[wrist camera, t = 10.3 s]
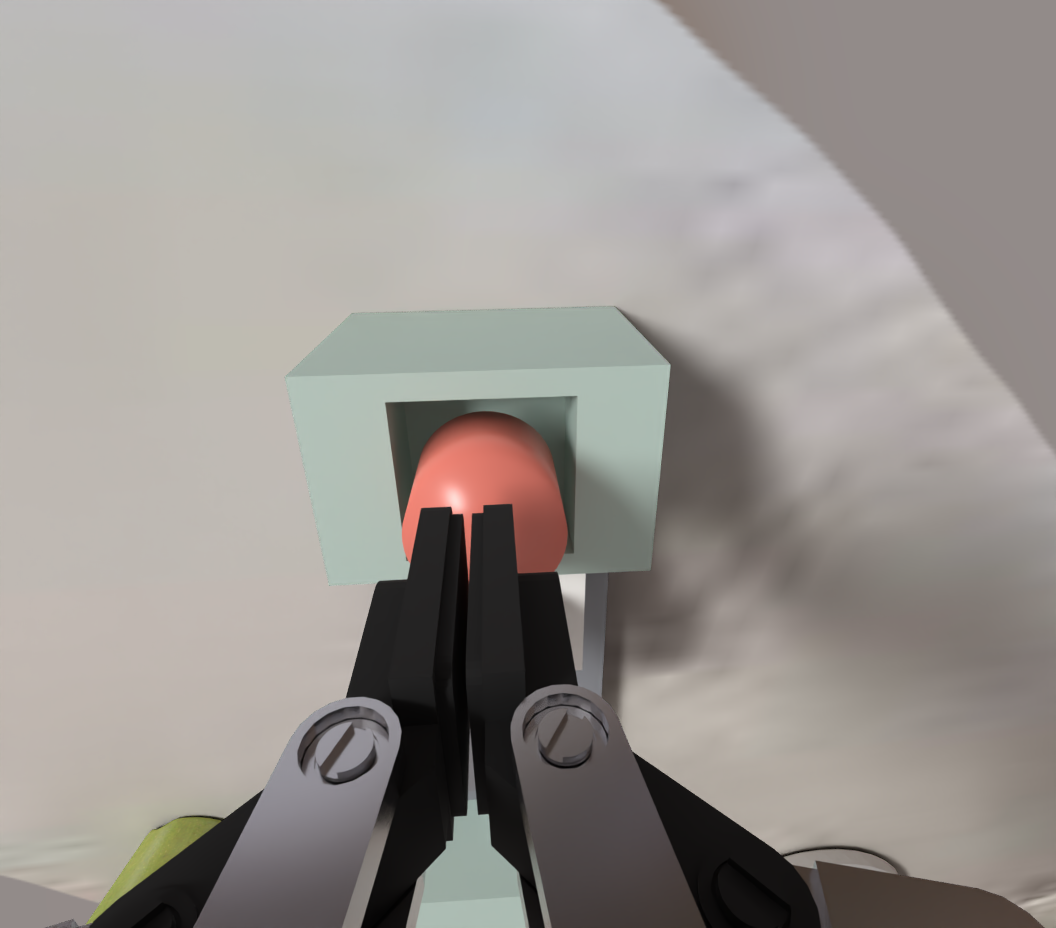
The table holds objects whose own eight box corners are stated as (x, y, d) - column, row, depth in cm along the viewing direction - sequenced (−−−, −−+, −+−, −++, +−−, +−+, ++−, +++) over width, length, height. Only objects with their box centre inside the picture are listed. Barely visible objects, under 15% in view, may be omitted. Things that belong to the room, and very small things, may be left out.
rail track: (589, 812, 32) (612, 964, 26) (428, 822, 32) (412, 979, 26) (614, 306, 20) (670, 364, 14) (351, 313, 19) (284, 376, 13)
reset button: (554, 528, 16) (566, 599, 13) (424, 535, 16) (411, 607, 13) (554, 408, 14) (569, 460, 12) (410, 413, 14) (392, 467, 12)
